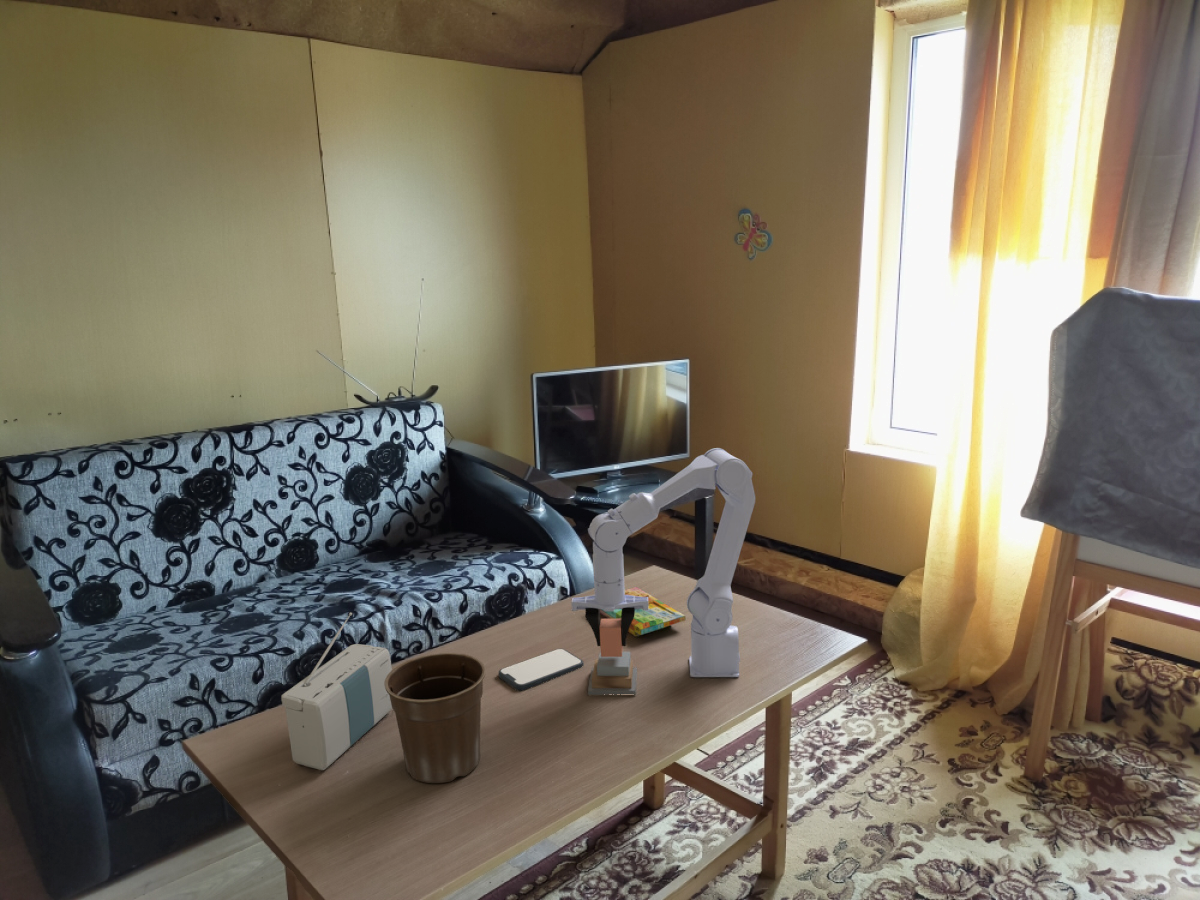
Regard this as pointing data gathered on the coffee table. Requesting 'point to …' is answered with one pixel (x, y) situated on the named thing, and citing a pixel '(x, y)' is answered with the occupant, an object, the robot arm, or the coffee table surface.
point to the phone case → (540, 669)
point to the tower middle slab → (612, 679)
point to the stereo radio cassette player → (337, 703)
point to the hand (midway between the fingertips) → (611, 643)
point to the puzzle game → (648, 614)
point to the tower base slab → (613, 690)
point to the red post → (611, 637)
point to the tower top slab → (614, 665)
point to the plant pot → (438, 714)
